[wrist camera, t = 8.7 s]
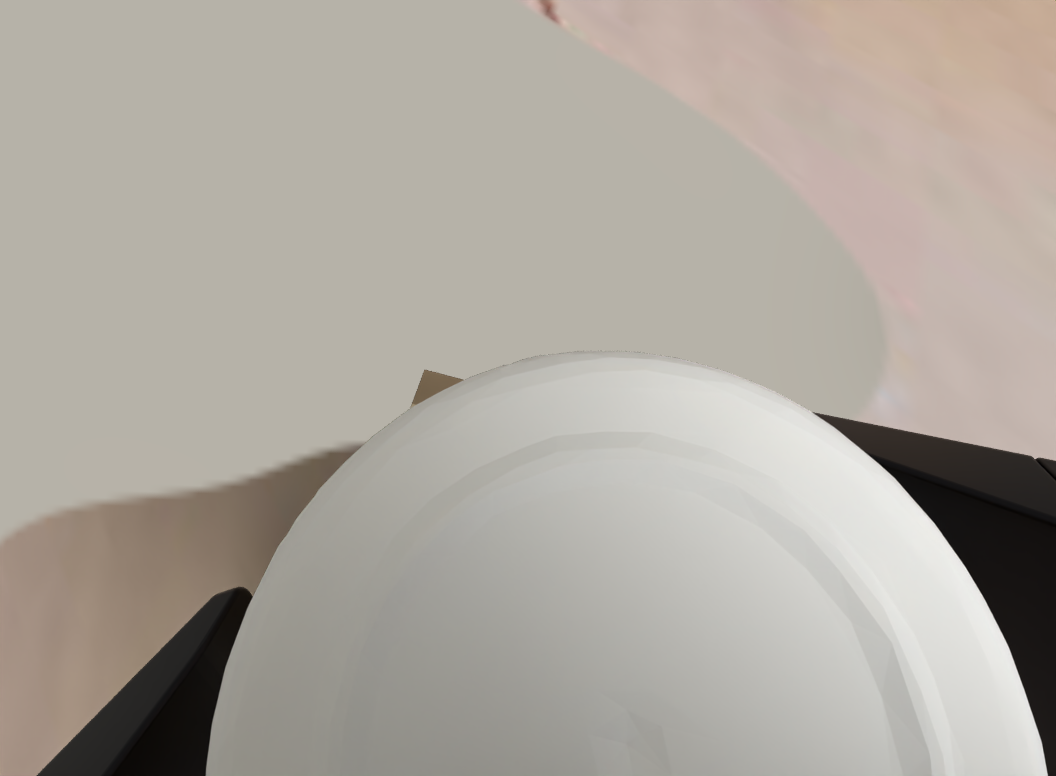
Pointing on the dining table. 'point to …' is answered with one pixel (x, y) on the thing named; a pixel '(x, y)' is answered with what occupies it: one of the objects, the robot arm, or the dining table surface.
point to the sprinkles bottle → (617, 597)
